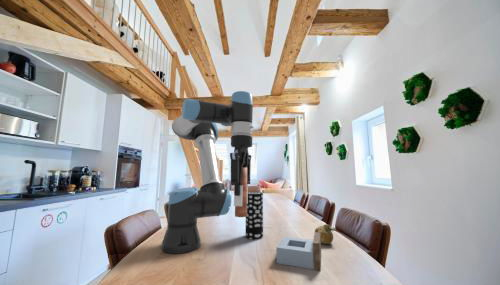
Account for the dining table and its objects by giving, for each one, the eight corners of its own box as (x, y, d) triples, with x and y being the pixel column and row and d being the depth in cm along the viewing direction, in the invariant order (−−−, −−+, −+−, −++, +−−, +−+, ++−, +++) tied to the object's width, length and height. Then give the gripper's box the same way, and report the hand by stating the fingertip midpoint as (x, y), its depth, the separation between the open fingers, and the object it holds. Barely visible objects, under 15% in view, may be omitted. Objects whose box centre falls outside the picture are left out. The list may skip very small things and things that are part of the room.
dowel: (232, 216, 66) (233, 167, 68) (237, 213, 69) (238, 167, 71) (244, 217, 64) (244, 167, 66) (248, 214, 68) (248, 167, 70)
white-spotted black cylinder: (265, 235, 96) (265, 192, 99) (259, 240, 89) (258, 194, 91) (250, 232, 100) (250, 191, 102) (242, 238, 92) (242, 193, 95)
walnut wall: (313, 269, 63) (312, 242, 64) (315, 254, 74) (314, 231, 75) (320, 270, 62) (319, 243, 63) (321, 255, 74) (320, 232, 75)
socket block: (276, 263, 67) (276, 247, 68) (283, 249, 79) (283, 236, 79) (313, 269, 63) (313, 252, 64) (315, 254, 74) (315, 240, 75)
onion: (325, 239, 91) (324, 220, 92) (338, 245, 84) (337, 225, 85) (311, 240, 89) (310, 222, 90) (323, 247, 81) (322, 226, 82)
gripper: (242, 131, 61) (241, 210, 58) (259, 138, 77) (259, 201, 74) (220, 132, 64) (218, 208, 61) (241, 139, 79) (240, 200, 76)
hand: (240, 204), depth 67 cm, fingers closed on dowel, 4 cm apart
